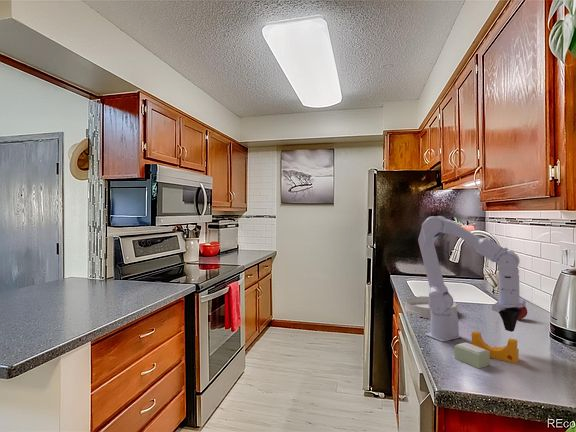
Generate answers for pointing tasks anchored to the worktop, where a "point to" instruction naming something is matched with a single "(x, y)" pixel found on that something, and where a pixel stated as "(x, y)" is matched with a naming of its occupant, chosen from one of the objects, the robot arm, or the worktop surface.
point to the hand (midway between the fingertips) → (509, 330)
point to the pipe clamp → (498, 348)
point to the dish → (422, 306)
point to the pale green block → (472, 355)
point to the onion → (524, 312)
